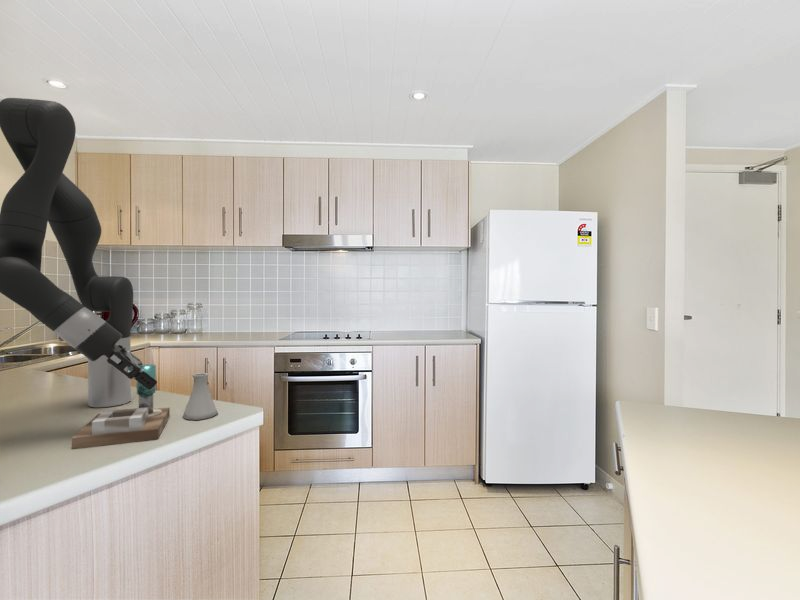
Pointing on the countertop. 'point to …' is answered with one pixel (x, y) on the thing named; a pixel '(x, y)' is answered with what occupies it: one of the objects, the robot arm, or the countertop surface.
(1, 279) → the robot arm
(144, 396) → the peg
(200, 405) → the flask
